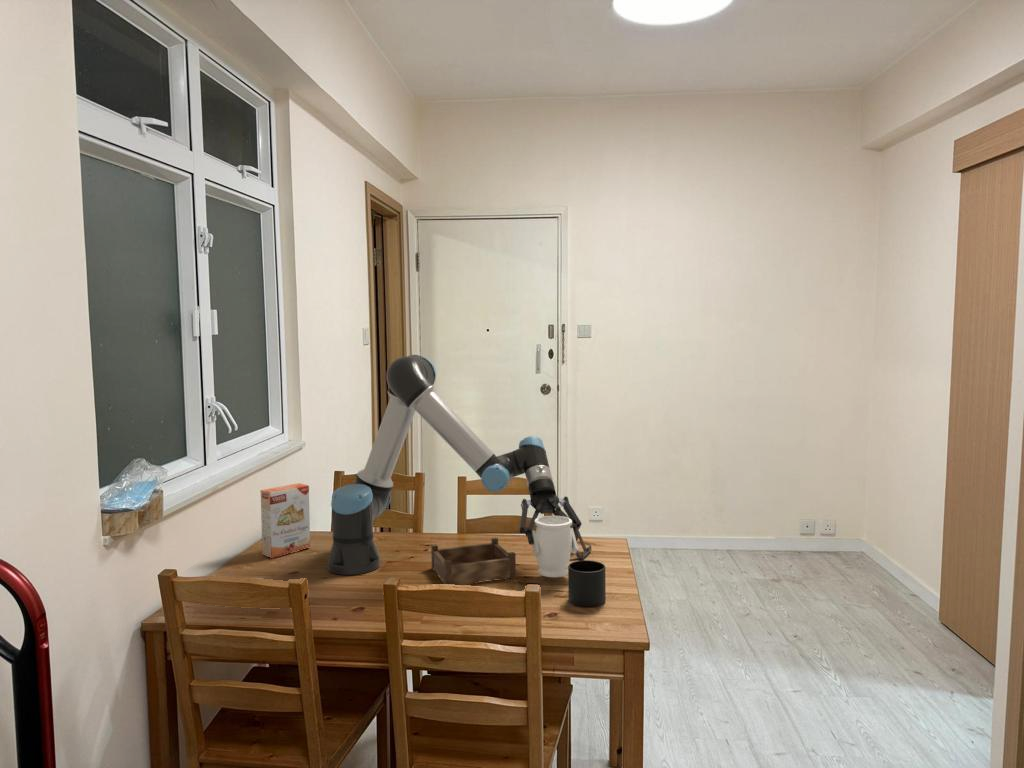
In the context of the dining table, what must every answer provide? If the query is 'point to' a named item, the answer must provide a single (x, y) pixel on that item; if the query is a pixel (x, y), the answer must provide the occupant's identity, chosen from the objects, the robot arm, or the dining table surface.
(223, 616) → the dining table surface
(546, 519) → the jar
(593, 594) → the mug
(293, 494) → the cracker box
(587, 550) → the portable electronic device stand
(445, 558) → the crate
